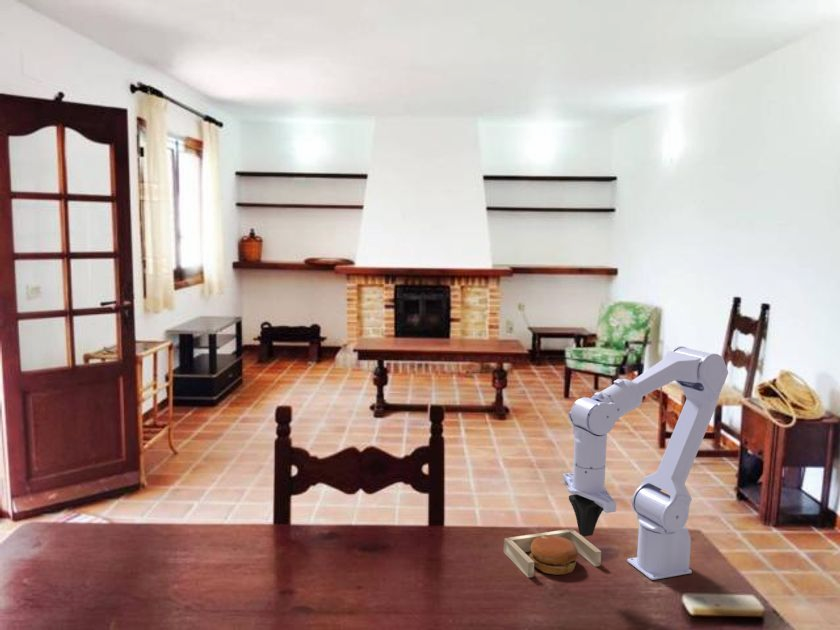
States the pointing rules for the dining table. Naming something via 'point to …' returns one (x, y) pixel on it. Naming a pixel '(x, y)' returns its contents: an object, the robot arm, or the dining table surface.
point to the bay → (522, 544)
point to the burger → (553, 554)
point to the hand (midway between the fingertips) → (586, 534)
